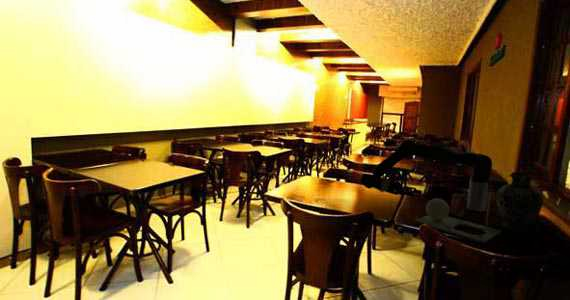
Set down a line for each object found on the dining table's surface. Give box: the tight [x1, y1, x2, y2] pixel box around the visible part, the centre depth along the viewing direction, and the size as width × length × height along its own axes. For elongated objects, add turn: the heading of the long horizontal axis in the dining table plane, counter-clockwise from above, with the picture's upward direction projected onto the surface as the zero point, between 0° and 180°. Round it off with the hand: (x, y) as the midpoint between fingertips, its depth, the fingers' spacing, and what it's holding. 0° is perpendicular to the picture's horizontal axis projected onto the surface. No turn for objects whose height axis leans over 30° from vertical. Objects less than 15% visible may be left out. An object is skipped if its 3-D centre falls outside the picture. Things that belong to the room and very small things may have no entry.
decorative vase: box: [495, 171, 544, 232], centre depth 159 cm, size 21×19×28 cm
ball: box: [425, 198, 450, 220], centre depth 164 cm, size 11×11×11 cm
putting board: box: [414, 191, 503, 243], centre depth 156 cm, size 32×22×19 cm
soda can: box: [450, 192, 467, 218], centre depth 176 cm, size 7×7×12 cm
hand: (417, 193), depth 172 cm, fingers open, 8 cm apart
